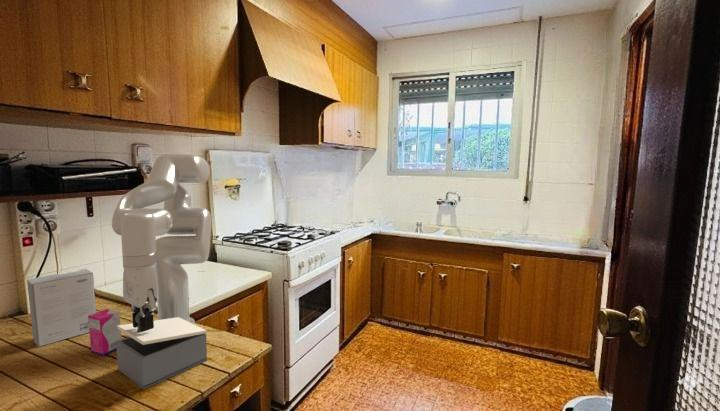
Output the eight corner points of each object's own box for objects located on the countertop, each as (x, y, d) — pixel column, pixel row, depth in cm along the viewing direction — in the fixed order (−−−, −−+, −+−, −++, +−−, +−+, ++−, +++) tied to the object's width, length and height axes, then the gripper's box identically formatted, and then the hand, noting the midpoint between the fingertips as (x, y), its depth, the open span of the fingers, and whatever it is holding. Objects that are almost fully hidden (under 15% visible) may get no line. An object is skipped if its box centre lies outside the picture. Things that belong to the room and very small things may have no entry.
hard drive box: (91, 324, 126) (87, 268, 124) (98, 330, 121) (94, 272, 119) (31, 340, 114) (26, 278, 112) (36, 347, 109) (31, 283, 107)
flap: (116, 328, 97) (120, 306, 98) (178, 319, 111) (181, 300, 112) (142, 344, 89) (146, 320, 89) (206, 333, 103) (209, 312, 103)
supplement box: (109, 343, 112) (107, 307, 111) (122, 347, 110) (120, 311, 109) (89, 352, 107) (87, 314, 106) (102, 356, 105) (100, 318, 104)
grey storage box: (117, 369, 98) (116, 341, 97) (179, 344, 112) (178, 320, 111) (143, 389, 90) (142, 358, 89) (206, 360, 103) (206, 333, 103)
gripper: (110, 257, 96) (114, 324, 98) (138, 268, 86) (142, 342, 88) (141, 252, 102) (144, 315, 104) (170, 262, 92) (173, 331, 94)
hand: (143, 327), depth 96 cm, fingers closed on flap, 3 cm apart
